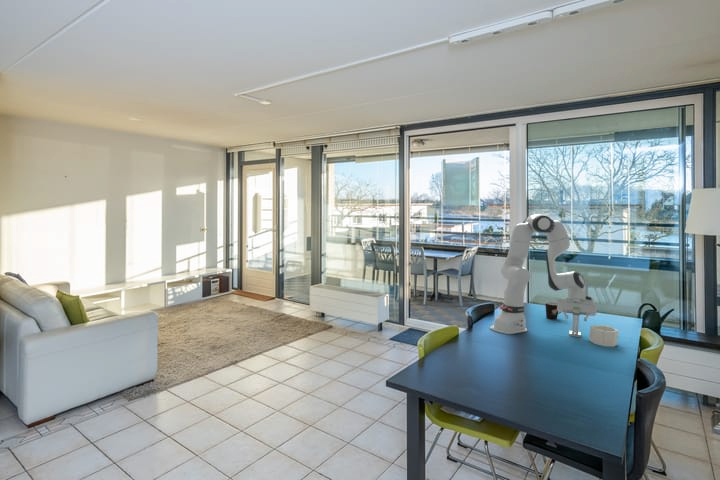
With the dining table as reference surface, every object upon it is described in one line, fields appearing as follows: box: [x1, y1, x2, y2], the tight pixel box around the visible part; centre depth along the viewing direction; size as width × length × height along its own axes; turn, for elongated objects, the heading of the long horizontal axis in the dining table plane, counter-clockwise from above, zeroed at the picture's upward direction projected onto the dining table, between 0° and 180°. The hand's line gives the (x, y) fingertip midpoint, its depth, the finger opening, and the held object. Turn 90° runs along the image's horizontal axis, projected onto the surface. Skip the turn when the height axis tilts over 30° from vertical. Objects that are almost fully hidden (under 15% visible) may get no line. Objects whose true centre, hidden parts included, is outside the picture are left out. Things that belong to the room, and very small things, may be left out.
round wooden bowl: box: [589, 324, 619, 347], centre depth 215 cm, size 12×12×8 cm
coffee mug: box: [544, 301, 562, 321], centre depth 261 cm, size 12×9×10 cm
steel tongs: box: [568, 307, 581, 338], centre depth 226 cm, size 6×6×16 cm
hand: (575, 319), depth 226 cm, fingers open, 8 cm apart
